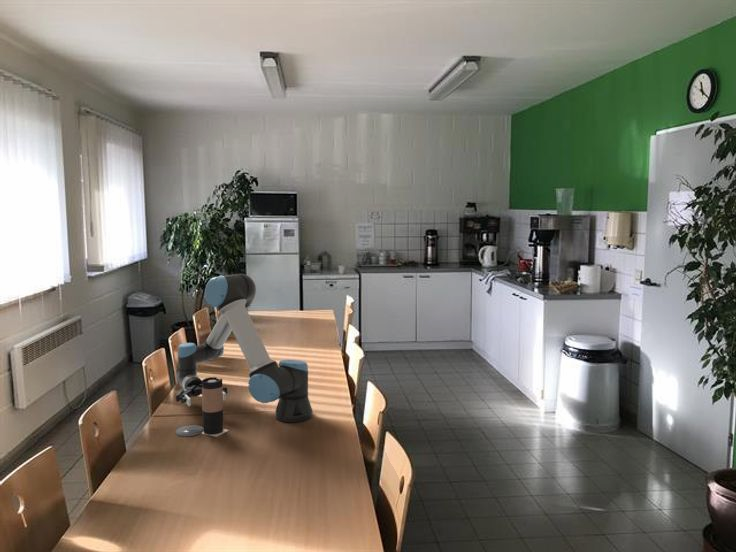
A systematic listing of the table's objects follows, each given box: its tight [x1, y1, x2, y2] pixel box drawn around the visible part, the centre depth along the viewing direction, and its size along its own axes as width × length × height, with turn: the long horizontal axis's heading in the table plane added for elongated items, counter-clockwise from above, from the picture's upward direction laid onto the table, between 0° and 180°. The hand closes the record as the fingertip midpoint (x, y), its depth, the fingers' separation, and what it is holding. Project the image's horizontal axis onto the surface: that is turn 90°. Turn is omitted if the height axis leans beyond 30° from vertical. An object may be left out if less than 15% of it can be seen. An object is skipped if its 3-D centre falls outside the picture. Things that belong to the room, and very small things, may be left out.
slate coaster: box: [175, 424, 204, 438], centre depth 224 cm, size 10×10×1 cm
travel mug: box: [201, 376, 224, 436], centre depth 223 cm, size 8×8×20 cm
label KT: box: [201, 428, 230, 438], centre depth 224 cm, size 9×7×1 cm
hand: (207, 399), depth 228 cm, fingers open, 13 cm apart
